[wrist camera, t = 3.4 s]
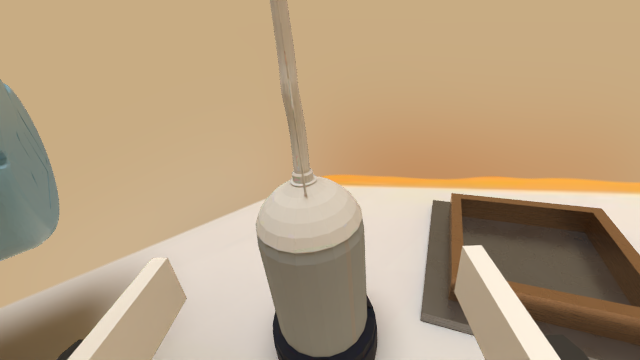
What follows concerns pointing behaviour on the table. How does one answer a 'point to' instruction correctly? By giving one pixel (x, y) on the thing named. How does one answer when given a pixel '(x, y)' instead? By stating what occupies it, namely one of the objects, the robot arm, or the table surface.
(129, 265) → the table surface
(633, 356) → the fitting nest
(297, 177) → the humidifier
